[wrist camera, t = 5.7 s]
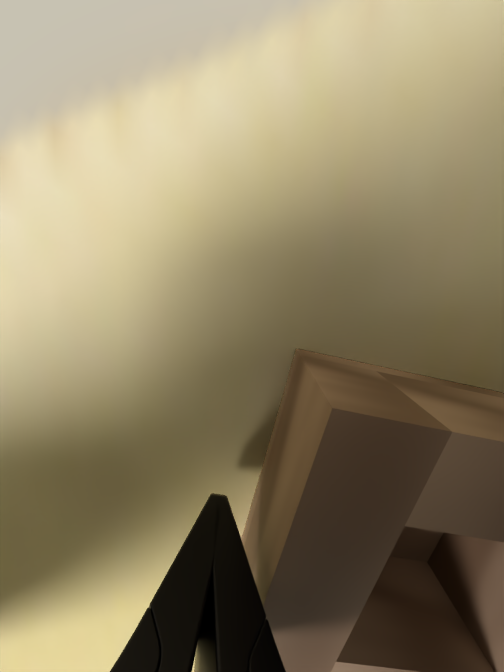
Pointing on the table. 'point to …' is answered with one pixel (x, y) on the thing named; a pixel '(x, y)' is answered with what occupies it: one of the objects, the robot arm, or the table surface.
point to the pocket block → (381, 522)
